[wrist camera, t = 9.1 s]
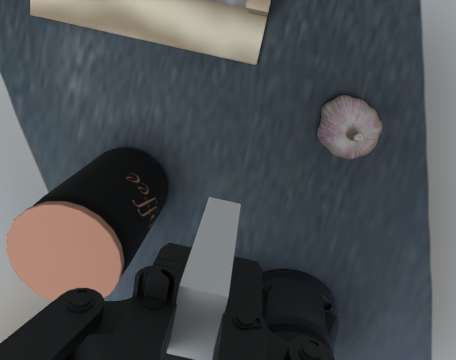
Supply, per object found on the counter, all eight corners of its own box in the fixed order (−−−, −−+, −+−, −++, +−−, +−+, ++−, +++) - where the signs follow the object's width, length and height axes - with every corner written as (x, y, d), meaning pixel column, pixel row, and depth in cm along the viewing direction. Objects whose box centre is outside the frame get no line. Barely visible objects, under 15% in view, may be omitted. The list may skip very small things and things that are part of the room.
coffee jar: (167, 224, 51) (121, 314, 35) (92, 213, 52) (11, 297, 35) (171, 151, 47) (122, 213, 31) (90, 140, 48) (-2, 195, 31)
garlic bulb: (313, 95, 43) (323, 107, 36) (377, 88, 43) (401, 99, 35) (315, 156, 46) (326, 180, 39) (376, 151, 45) (399, 173, 38)
